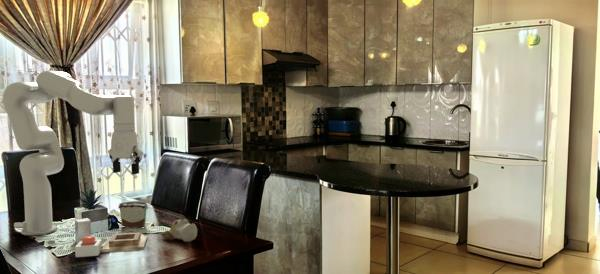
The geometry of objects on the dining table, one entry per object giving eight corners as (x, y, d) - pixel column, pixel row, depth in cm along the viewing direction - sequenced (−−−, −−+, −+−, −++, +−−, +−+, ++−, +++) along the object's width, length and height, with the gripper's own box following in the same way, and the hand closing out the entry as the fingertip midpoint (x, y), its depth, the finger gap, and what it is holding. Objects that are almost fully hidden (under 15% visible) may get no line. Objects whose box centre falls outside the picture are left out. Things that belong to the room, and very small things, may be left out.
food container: (153, 224, 199) (152, 201, 198) (147, 228, 193) (146, 204, 192) (125, 223, 200) (125, 200, 200) (118, 227, 194) (118, 203, 194)
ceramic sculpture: (181, 221, 169) (157, 217, 178) (182, 245, 169) (158, 240, 178) (204, 216, 177) (180, 213, 186) (205, 239, 177) (182, 234, 187)
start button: (81, 245, 158) (80, 239, 158) (83, 241, 162) (83, 236, 162) (93, 244, 159) (93, 238, 159) (95, 241, 163) (95, 235, 163)
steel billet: (78, 243, 172) (77, 222, 172) (75, 240, 176) (74, 219, 175) (91, 241, 175) (90, 220, 174) (88, 238, 178) (87, 218, 178)
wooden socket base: (101, 252, 162) (101, 243, 162) (108, 240, 176) (107, 232, 175) (143, 249, 165) (143, 240, 165) (147, 238, 179) (147, 230, 179)
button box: (75, 257, 157) (75, 246, 157) (80, 250, 164) (79, 241, 163) (97, 255, 158) (97, 245, 158) (101, 249, 165) (101, 239, 165)
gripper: (100, 128, 178) (102, 173, 179) (133, 129, 170) (135, 175, 171) (115, 127, 185) (117, 170, 186) (148, 128, 177) (150, 173, 178)
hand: (126, 173), depth 179 cm, fingers open, 9 cm apart
